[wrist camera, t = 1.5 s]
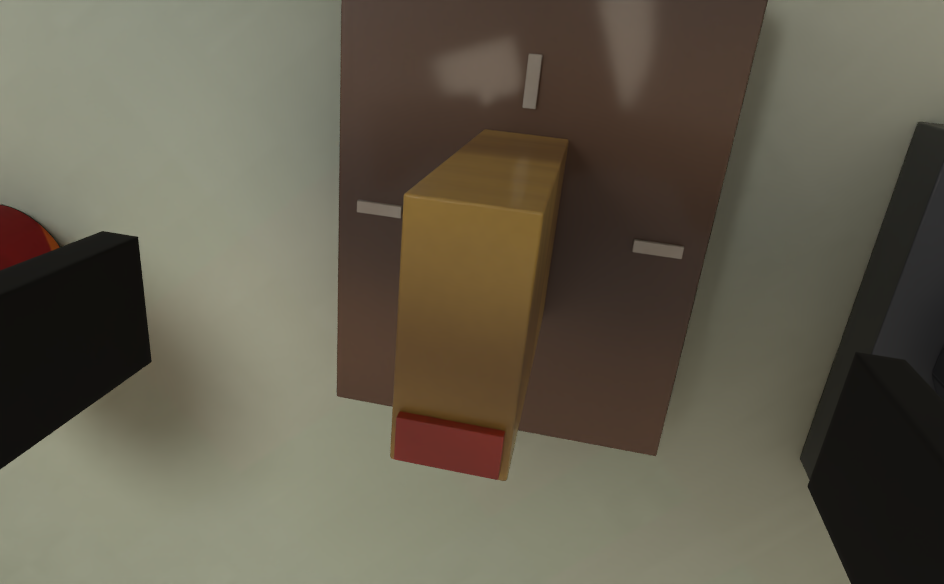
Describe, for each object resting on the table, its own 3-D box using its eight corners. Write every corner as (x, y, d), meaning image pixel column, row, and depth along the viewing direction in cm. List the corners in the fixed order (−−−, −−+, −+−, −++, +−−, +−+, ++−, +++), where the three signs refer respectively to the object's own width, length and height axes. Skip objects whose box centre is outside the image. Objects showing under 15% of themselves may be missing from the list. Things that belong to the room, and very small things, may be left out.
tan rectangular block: (484, 128, 18) (398, 196, 11) (569, 139, 18) (543, 217, 10) (466, 306, 20) (385, 466, 13) (542, 318, 20) (504, 490, 13)
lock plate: (377, -42, 20) (338, -54, 17) (747, -9, 18) (773, -17, 16) (365, 357, 25) (334, 399, 22) (650, 408, 24) (656, 459, 21)
